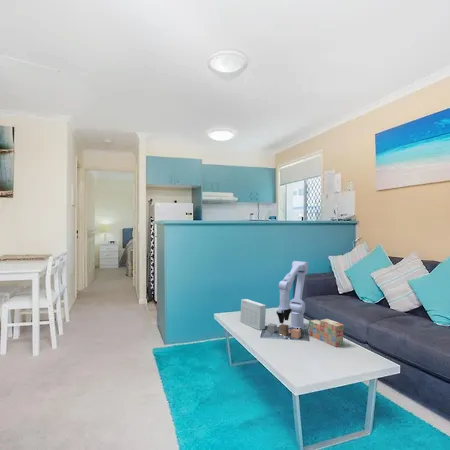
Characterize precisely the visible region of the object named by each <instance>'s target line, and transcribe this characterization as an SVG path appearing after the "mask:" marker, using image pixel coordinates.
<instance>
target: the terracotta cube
mask: <svg viewBox="0 0 450 450" xmlns="http://www.w3.org/2000/svg"><path fill="white" fill-rule="evenodd" d="M292 337H293V339H296V338H297V340H299V339H300V338H301V337H302V330H301V329H297V328H293V327H292V329H291V330H290V338H292Z"/></svg>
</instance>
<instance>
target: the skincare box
mask: <svg viewBox="0 0 450 450" xmlns="http://www.w3.org/2000/svg"><path fill="white" fill-rule="evenodd" d="M266 308H267V305H266V304H264V303H260V302H257V301H254V300H251V299H248V298H244V299H243V298H241V300H240V318H239V319H240V320H239V321H240V323H242V324H245V325H246V326H249V327H252V328H254V329H256V330H259V331H261V330H265V329H266V312H267V310H266Z"/></svg>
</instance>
